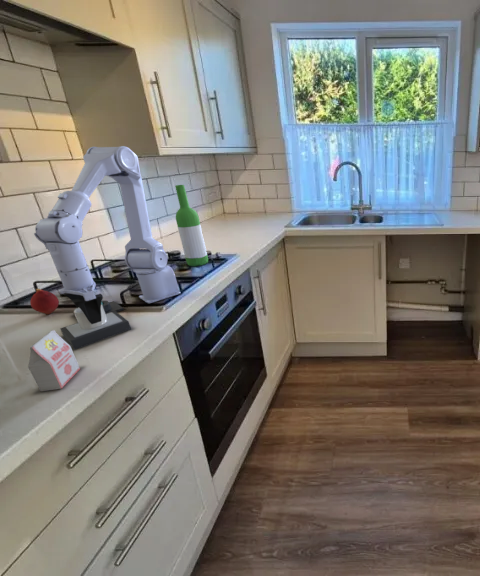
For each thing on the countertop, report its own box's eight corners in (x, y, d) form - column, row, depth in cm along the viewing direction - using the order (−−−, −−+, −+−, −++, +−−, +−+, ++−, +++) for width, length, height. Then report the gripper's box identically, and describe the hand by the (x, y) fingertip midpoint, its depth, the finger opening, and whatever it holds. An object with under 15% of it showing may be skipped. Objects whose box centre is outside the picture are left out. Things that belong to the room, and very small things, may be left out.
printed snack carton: (40, 391, 72) (19, 348, 68) (60, 371, 78) (42, 331, 74) (61, 388, 72) (41, 346, 68) (80, 368, 78) (62, 328, 75)
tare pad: (114, 303, 110) (111, 295, 109) (123, 310, 105) (121, 302, 104) (73, 315, 103) (70, 307, 102) (82, 323, 98) (78, 315, 97)
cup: (103, 316, 95) (97, 301, 94) (110, 322, 92) (104, 306, 90) (77, 324, 91) (70, 308, 90) (84, 331, 88) (77, 315, 86)
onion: (60, 307, 108) (49, 282, 104) (65, 312, 104) (54, 287, 101) (34, 314, 103) (22, 289, 100) (38, 320, 100) (26, 294, 97)
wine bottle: (188, 262, 144) (169, 184, 132) (209, 259, 146) (192, 183, 135) (186, 268, 137) (165, 187, 125) (208, 265, 140) (190, 185, 128)
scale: (118, 318, 100) (114, 309, 99) (131, 329, 94) (128, 320, 93) (63, 336, 91) (59, 327, 90) (74, 349, 86) (70, 339, 85)
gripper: (44, 266, 87) (64, 316, 93) (59, 279, 79) (81, 333, 84) (79, 259, 92) (97, 306, 98) (97, 270, 84) (116, 322, 89)
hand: (92, 318), depth 91 cm, fingers closed on cup, 6 cm apart
